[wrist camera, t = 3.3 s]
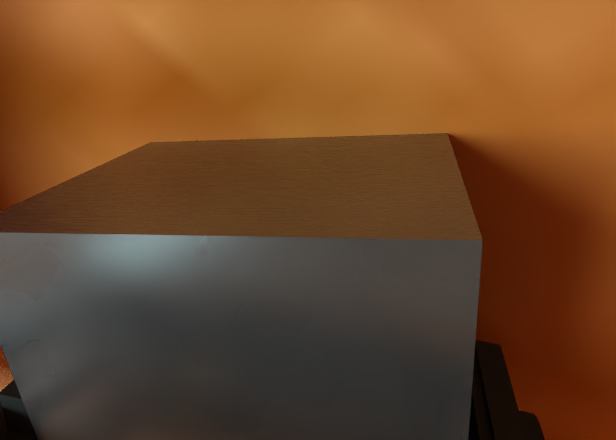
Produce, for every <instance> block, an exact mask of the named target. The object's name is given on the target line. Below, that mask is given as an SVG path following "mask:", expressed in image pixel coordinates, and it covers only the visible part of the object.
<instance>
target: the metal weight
mask: <svg viewBox="0 0 616 440" xmlns="http://www.w3.org/2000/svg"><path fill="white" fill-rule="evenodd" d="M482 244H483V239H482V236H481V233H480V230H479V227H478V224H477V221H476V218H475V215H474V212H473V209H472V206H471V203H470V200H469V197H468V194H467V191H466V188H465V185H464V181H463V178H462V175H461V172H460V169H459V166H458V163H457V160H456V157H455V154H454V151H453V148H452V145H451V142H450V139H449V136H448V133H441V134H408V135H376V136H344V137H312V138H280V139H247V140H215V141H183V142H151V143H148V144H146V145H144V146H141V147H139V148H137V149H135V150H133V151H131V152H128V153H126V154H124V155H122V156H120V157H118V158H115V159H113V160H111V161H109V162H107V163H104V164H102V165H100V166H98V167H96V168H94V169H91V170H89V171H87V172H85V173H83V174H81V175H78V176H76V177H74V178H72V179H70V180H67V181H65V182H63V183H61V184H59V185H57V186H54V187H52V188H50V189H48V190H46V191H44V192H41V193H39V194H37V195H35V196H33V197H31V198H28V199H26V200H24V201H22V202H20V203H17V204H15V205H13V206H11V207H9V208H7V209H4V210H2V211H0V345H1V347H2V350H3V352H4V355H5V358H6V360H7V363H8V365H9V368H10V370H11V373H12V375H13V378H14V380H15V383H16V385H17V388H18V390H19V393H20V396H21V398H22V401H23V403H24V406H25V408H26V411H27V413H28V416H29V418H30V421H31V423H32V426H33V428H34V431H35V434H36V436H37V439H38V440H468V436H469V422H470V408H471V395H472V381H473V367H474V354H475V340H476V326H477V313H478V299H479V285H480V272H481V258H482Z"/></svg>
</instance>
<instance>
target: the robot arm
mask: <svg viewBox="0 0 616 440" xmlns="http://www.w3.org/2000/svg"><path fill="white" fill-rule="evenodd" d="M0 440H38V439H37V436H36V434H35V431H34V428H33V426H32V423H31V421H30V418H29V416H28V413H27V411H26V408H25V406H24V403H23V401H22V398H21V396H20V393H19V390H18V388H17V385H16V383H15V380H13V381H12V382H11V383H10V384H9V385H8V386H7V387H5V388H4V389H3V390H2V391H1V392H0ZM468 440H545V439H544V436H543V433H542V430H541V427H540V424H539V421H538V419H537V417H536V416H535V415H534V414H533V413H528V412H523V411H519V410H518V407H517V403H516V400H515V396H514V392H513V389H512V385H511V382H510V378H509V375H508V371H507V368H506V364H505V360H504V357H503V353H502V350H501V347H500V345H498V344H493V343H488V342H482V341H477V340H475V354H474V367H473V381H472V395H471V408H470V422H469V436H468Z"/></svg>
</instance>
